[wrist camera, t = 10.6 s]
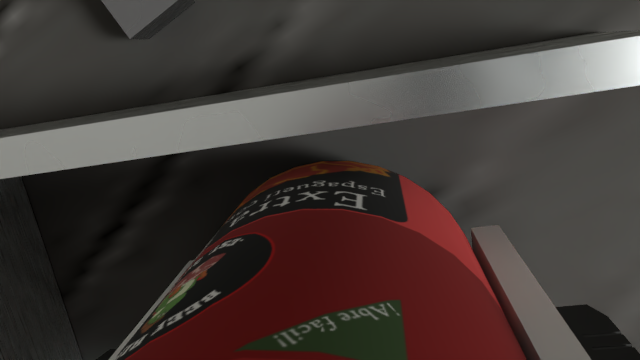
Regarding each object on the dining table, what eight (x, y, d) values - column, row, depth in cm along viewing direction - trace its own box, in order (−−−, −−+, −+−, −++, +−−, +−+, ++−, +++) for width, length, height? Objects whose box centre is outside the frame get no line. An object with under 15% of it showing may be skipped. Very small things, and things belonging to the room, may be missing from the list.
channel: (-23, 133, 16) (-195, 174, 11) (601, 32, 13) (733, 27, 8) (84, 436, 19) (-14, 570, 14) (606, 403, 16) (704, 556, 11)
